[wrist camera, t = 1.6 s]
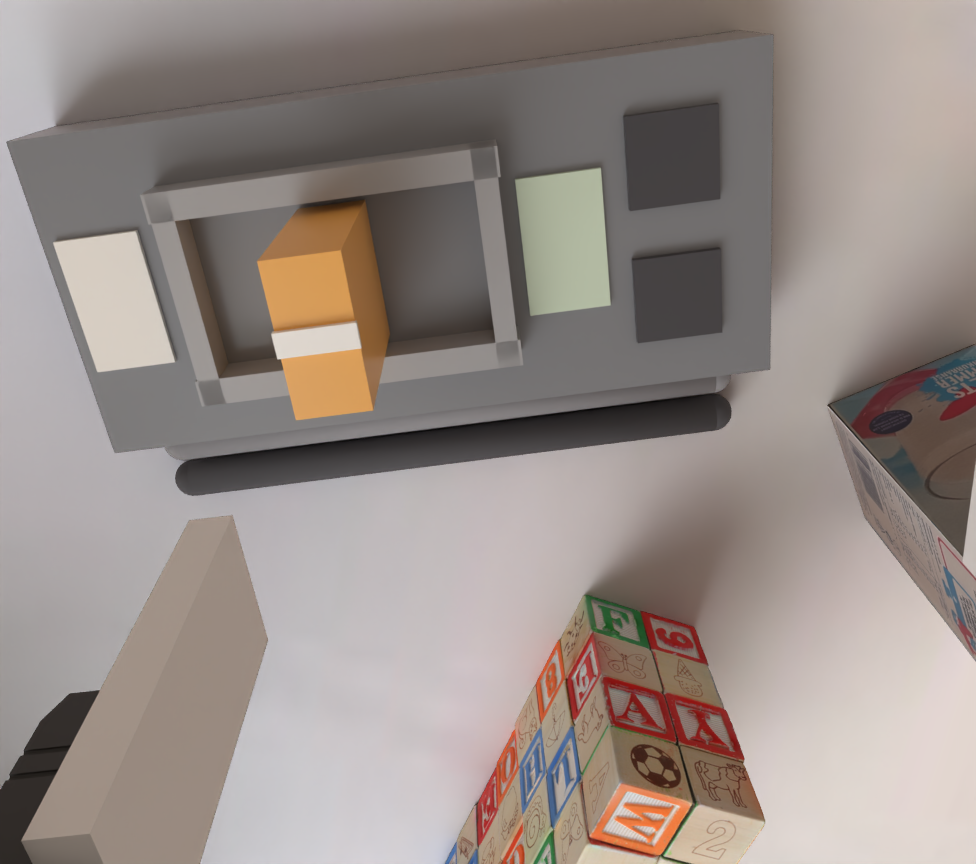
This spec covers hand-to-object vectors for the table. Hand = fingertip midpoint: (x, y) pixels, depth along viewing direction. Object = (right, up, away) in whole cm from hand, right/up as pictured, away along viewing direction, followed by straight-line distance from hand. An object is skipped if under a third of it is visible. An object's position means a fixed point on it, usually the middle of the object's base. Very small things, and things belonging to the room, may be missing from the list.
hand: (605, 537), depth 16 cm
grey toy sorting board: (-5, +10, +21) cm, 23 cm away
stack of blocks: (+2, -16, +33) cm, 37 cm away
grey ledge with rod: (-4, +2, +24) cm, 25 cm away
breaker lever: (-7, +8, +17) cm, 20 cm away
